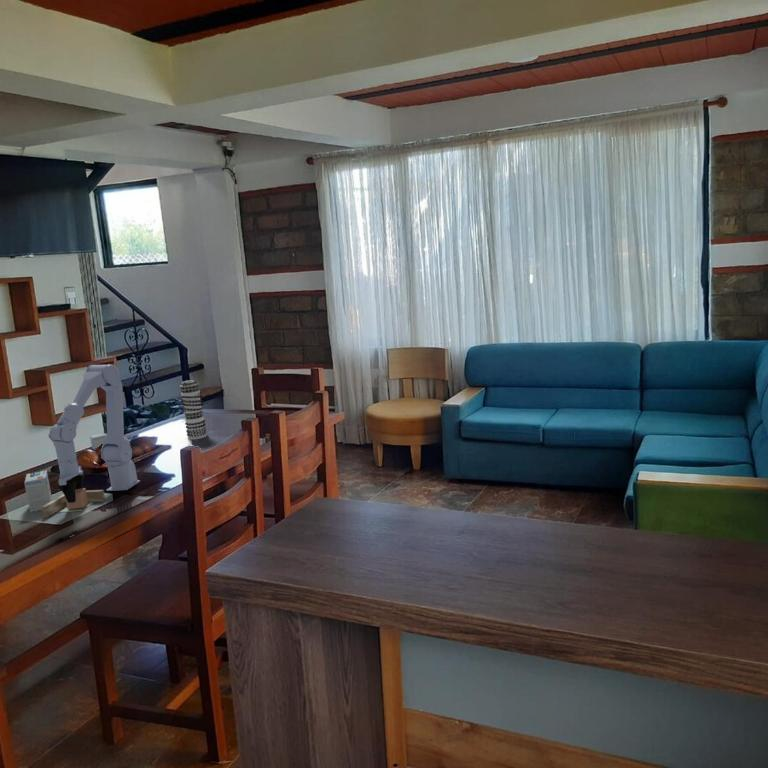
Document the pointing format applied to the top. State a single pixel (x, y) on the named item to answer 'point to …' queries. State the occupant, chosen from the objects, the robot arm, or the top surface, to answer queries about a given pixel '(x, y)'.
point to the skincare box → (97, 440)
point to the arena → (61, 503)
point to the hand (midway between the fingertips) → (74, 499)
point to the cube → (78, 499)
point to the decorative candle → (193, 409)
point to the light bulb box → (37, 490)
